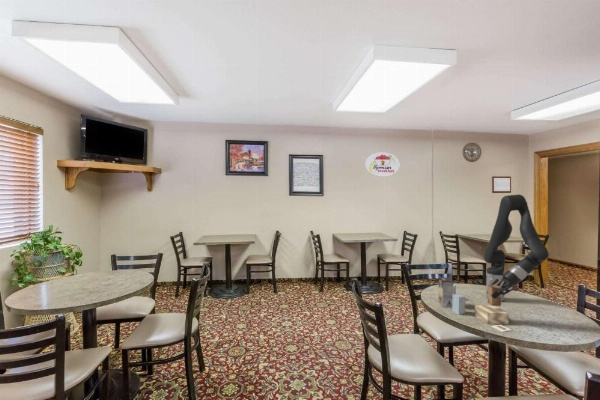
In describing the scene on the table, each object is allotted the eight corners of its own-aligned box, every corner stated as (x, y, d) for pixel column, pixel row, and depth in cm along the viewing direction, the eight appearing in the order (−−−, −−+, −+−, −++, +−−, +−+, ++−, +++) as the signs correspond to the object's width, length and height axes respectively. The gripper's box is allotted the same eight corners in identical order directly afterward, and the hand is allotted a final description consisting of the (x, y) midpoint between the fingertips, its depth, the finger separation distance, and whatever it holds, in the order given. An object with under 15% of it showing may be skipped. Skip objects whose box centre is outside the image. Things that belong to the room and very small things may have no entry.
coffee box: (437, 301, 181) (438, 276, 180) (448, 302, 179) (449, 277, 179) (442, 307, 172) (442, 280, 171) (453, 308, 170) (453, 281, 170)
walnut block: (496, 303, 156) (496, 285, 156) (500, 306, 152) (501, 287, 152) (487, 302, 157) (487, 284, 157) (491, 305, 152) (492, 287, 152)
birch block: (494, 316, 160) (494, 305, 160) (508, 324, 149) (508, 313, 149) (474, 315, 160) (475, 305, 160) (487, 324, 149) (487, 312, 149)
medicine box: (455, 298, 187) (456, 285, 187) (454, 300, 184) (454, 287, 184) (443, 295, 193) (443, 283, 193) (441, 297, 189) (441, 284, 189)
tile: (500, 325, 147) (500, 324, 147) (511, 330, 141) (511, 329, 141) (491, 326, 146) (491, 325, 146) (502, 331, 140) (502, 330, 140)
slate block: (458, 310, 166) (458, 294, 166) (464, 313, 162) (465, 296, 162) (452, 311, 165) (452, 294, 165) (458, 314, 161) (458, 297, 160)
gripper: (502, 267, 160) (479, 286, 162) (517, 273, 146) (492, 295, 148) (512, 276, 159) (488, 296, 161) (528, 284, 145) (502, 305, 147)
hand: (490, 295), depth 154 cm, fingers closed on walnut block, 4 cm apart
